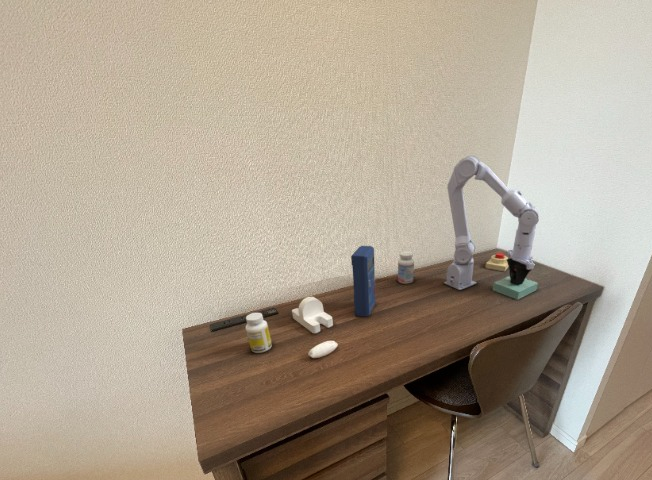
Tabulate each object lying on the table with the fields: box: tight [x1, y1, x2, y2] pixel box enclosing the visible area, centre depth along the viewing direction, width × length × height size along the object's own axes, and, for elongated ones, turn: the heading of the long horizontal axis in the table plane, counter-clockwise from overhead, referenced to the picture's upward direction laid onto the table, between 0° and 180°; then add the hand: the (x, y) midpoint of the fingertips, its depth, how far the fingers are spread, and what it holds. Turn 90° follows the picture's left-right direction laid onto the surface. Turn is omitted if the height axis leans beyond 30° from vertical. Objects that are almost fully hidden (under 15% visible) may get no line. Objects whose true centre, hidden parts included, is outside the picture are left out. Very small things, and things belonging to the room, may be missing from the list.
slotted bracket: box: [291, 296, 334, 334], centre depth 96 cm, size 13×7×8 cm, turn 42°
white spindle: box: [307, 340, 339, 359], centre depth 83 cm, size 3×8×3 cm, turn 131°
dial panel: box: [492, 275, 539, 301], centre depth 115 cm, size 12×10×3 cm
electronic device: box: [350, 245, 376, 317], centre depth 100 cm, size 10×5×20 cm, turn 168°
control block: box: [485, 254, 509, 272], centre depth 136 cm, size 10×8×4 cm
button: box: [494, 252, 506, 259], centre depth 135 cm, size 4×4×2 cm
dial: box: [510, 269, 520, 285], centre depth 113 cm, size 4×4×4 cm
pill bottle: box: [397, 251, 415, 285], centre depth 121 cm, size 6×6×11 cm
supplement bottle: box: [245, 312, 273, 354], centre depth 84 cm, size 5×5×10 cm
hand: (516, 281), depth 114 cm, fingers closed on dial, 4 cm apart
